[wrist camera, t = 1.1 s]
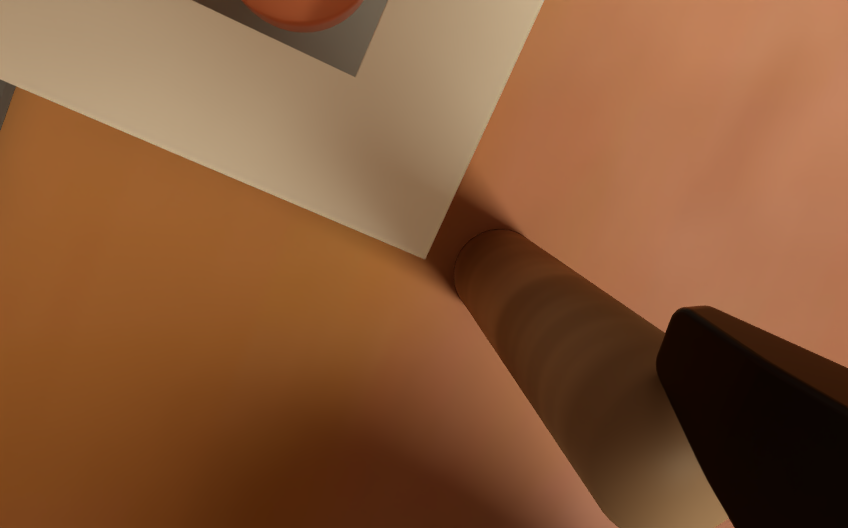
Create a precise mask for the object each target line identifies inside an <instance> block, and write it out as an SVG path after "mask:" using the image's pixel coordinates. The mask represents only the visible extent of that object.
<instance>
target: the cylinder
mask: <svg viewBox="0 0 848 528" xmlns="http://www.w3.org/2000/svg"><path fill="white" fill-rule="evenodd" d="M454 284H455V288H456V291H457V293H458V295H459V297H460V298H461V300H462V301H463V303H464V304H465V306H466V307H467V309H468V310H469V312H470V313H471V315H472V316H473V318H474V319H475V321H476V322H477V324H478V325H479V327H480V328H481V330H482V331H483V333H484V334H485V336H486V337H487V339H488V340H489V342H490V343H491V345H492V346H493V348H494V349H495V351H496V352H497V354H498V355H499V357H500V358H501V360H502V361H503V363H504V364H505V366H506V367H507V369H508V370H509V372H510V373H511V375H512V376H513V378H514V379H515V381H516V382H517V384H518V385H519V387H520V388H521V390H522V391H523V393H524V394H525V396H526V397H527V399H528V400H529V402H530V403H531V405H532V406H533V408H534V409H535V411H536V412H537V414H538V415H539V417H540V418H541V420H542V421H543V423H544V424H545V426H546V427H547V429H548V430H549V432H550V433H551V435H552V436H553V438H554V439H555V441H556V442H557V444H558V445H559V447H560V448H561V450H562V451H563V453H564V454H565V456H566V457H567V459H568V460H569V462H570V463H571V465H572V466H573V468H574V469H575V471H576V472H577V474H578V475H579V477H580V478H581V480H582V481H583V483H584V484H585V486H586V487H587V489H588V490H589V492H590V493H591V495H592V496H593V498H594V499H595V501H596V502H597V504H598V505H599V507H600V508H601V510H602V511H603V513H604V514H605V515H606V516H607V517H608V518H609V520H611V521H612V522H613V523H614V524H615V525H616V526H618V527H619V528H715V527H716V526H718V525H720V524H721V523H723V522H724V521H726V520H727V519H728V518H729V517H728V516H727V514H726V512H725V511H724V509H723V507H722V506H721V504H720V502H719V500H718V499H717V497H716V495H715V494H714V492H713V490H712V488H711V486H710V485H709V483H708V481H707V479H706V477H705V475H704V473H703V471H702V469H701V467H700V465H699V463H698V461H697V459H696V457H695V455H694V453H693V451H692V448H691V446H690V444H689V442H688V440H687V438H686V436H685V433H684V431H683V429H682V427H681V425H680V423H679V421H678V419H677V416H676V414H675V412H674V410H673V408H672V406H671V404H670V402H669V399H668V397H667V395H666V393H665V391H664V389H663V387H662V384H661V382H660V380H659V378H658V375H657V371H656V357H657V354H658V351H659V349H660V346H661V343H662V341H663V338H664V335H665V333H664V332H663V331H661V330H660V329H658V328H657V327H655V326H654V325H652V324H651V323H650V322H648V321H647V320H645V319H644V318H642V317H641V316H639V315H638V314H636V313H635V312H633V311H632V310H631V309H629V308H628V307H626V306H625V305H623V304H622V303H620V302H619V301H617V300H616V299H614V298H613V297H612V296H610V295H609V294H607V293H606V292H604V291H603V290H601V289H600V288H598V287H597V286H595V285H594V284H593V283H591V282H590V281H588V280H587V279H585V278H584V277H582V276H581V275H579V274H578V273H577V272H575V271H574V270H572V269H571V268H569V267H568V266H566V265H565V264H563V263H562V262H560V261H559V260H558V259H556V258H555V257H553V256H552V255H550V254H549V253H547V252H546V251H544V250H543V249H541V248H540V247H539V246H537V245H536V244H534V243H533V242H531V241H530V240H528V239H527V238H525V237H524V236H522V235H521V234H519V233H516V232H514V231H510V230H504V229H496V230H490V231H486V232H483V233H481V234H479V235H477V236H476V237H474V238H473V239H471V240H470V241H469V242H468V243H467V244H466V245H465V246H464V247H463V249H462V250H461V252H460V254H459V255H458V257H457V260H456V263H455V267H454Z"/></svg>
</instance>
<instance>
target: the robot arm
mask: <svg viewBox="0 0 848 528" xmlns="http://www.w3.org/2000/svg"><path fill="white" fill-rule="evenodd" d="M656 371H657V375H658V378H659V380H660V382H661V384H662V387H663V389H664V391H665V393H666V395H667V397H668V399H669V402H670V404H671V406H672V408H673V410H674V412H675V414H676V416H677V419H678V421H679V423H680V425H681V427H682V429H683V431H684V433H685V436H686V438H687V440H688V442H689V444H690V446H691V448H692V451H693V453H694V455H695V457H696V459H697V461H698V463H699V465H700V467H701V469H702V471H703V473H704V475H705V477H706V479H707V481H708V483H709V485H710V486H711V488H712V490H713V492H714V494H715V495H716V497H717V499H718V500H719V502H720V504H721V506H722V507H723V509H724V511H725V512H726V514H727V516H728V517H729V519H730V521H731V522H732V524H733V526H734V528H848V368H846V367H844V366H842V365H840V364H838V363H835V362H833V361H831V360H829V359H826V358H824V357H822V356H820V355H818V354H815V353H813V352H811V351H809V350H806V349H804V348H802V347H800V346H798V345H795V344H793V343H791V342H789V341H786V340H784V339H782V338H780V337H778V336H775V335H773V334H771V333H769V332H767V331H764V330H762V329H760V328H758V327H755V326H753V325H751V324H749V323H747V322H744V321H742V320H740V319H738V318H735V317H733V316H731V315H729V314H727V313H724V312H722V311H720V310H718V309H716V308H713V307H710V306H693V307H683V308H680V309H678V310H677V311H676V312H675V313H674V314H673V315H672V317H671V320H670V322H669V325H668V328H667V330H666V333H665V335H664V338H663V341H662V343H661V346H660V349H659V351H658V354H657V357H656Z"/></svg>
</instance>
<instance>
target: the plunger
mask: <svg viewBox="0 0 848 528" xmlns="http://www.w3.org/2000/svg"><path fill="white" fill-rule="evenodd" d="M363 1H364V0H242V2H243V3H244V4H245V5H246V6H247V7H248V8H249V9H250V10H251V11H252V12H253V13H254V14H255V15H257V16H258V17H259V18H261V19H262V20H264V21H265V22H267V23H269V24H271V25H273V26H275V27H278V28H280V29H284V30H288V31H292V32H300V33H306V32H317V31H322V30H325V29H328V28H331V27H333V26H335V25H338V24H339V23H341V22H342V21H344V20H346V19H347V18H348V17H349V16H351V15H352V14H353V13H354V12H355V11H356V10H357V9H358V7H359V6H360V5H361V4H362V2H363Z"/></svg>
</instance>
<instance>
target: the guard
mask: <svg viewBox="0 0 848 528" xmlns="http://www.w3.org/2000/svg"><path fill="white" fill-rule="evenodd" d="M543 2H544V0H364V1H363V2H362V4H361V5H360V6H359V7H358V9H357V10H356V11H355V12H354V13H353V14H352V15H351V16H349V17H348V18H347V19H346V20H344V21H342V22H341V23H339V24H338V25H335V26H333V27H331V28H328V29H325V30H322V31H317V32H306V33H300V32H292V31H288V30H284V29H280V28H278V27H275V26H273V25H271V24H269V23H267V22H265V21H264V20H262V19H261V18H259V17H258V16H257V15H255V14H254V13H253V12H252V11H251V10H250V9H249V8H248V7H247V6H246V5H245V4H244V3H243V2H242V0H0V80H3V81H5V82H8V83H10V84H12V85H15V86H17V87H19V88H22V89H24V90H26V91H29V92H31V93H33V94H36V95H38V96H41V97H43V98H45V99H48V100H50V101H52V102H55V103H57V104H59V105H62V106H64V107H67V108H69V109H71V110H74V111H76V112H78V113H81V114H83V115H85V116H88V117H90V118H92V119H95V120H97V121H100V122H102V123H104V124H107V125H109V126H111V127H114V128H116V129H118V130H121V131H123V132H125V133H128V134H130V135H133V136H135V137H137V138H140V139H142V140H144V141H147V142H149V143H151V144H154V145H156V146H158V147H161V148H163V149H166V150H168V151H170V152H173V153H175V154H177V155H180V156H182V157H184V158H187V159H189V160H191V161H194V162H196V163H199V164H201V165H203V166H206V167H208V168H210V169H213V170H215V171H217V172H220V173H222V174H224V175H227V176H229V177H232V178H234V179H236V180H239V181H241V182H243V183H246V184H248V185H250V186H253V187H255V188H258V189H260V190H262V191H265V192H267V193H269V194H272V195H274V196H276V197H279V198H281V199H283V200H286V201H288V202H291V203H293V204H295V205H298V206H300V207H302V208H305V209H307V210H309V211H312V212H314V213H316V214H319V215H321V216H324V217H326V218H328V219H331V220H333V221H335V222H338V223H340V224H342V225H345V226H347V227H349V228H352V229H354V230H357V231H359V232H361V233H364V234H366V235H368V236H371V237H373V238H375V239H378V240H380V241H382V242H385V243H387V244H390V245H392V246H394V247H397V248H399V249H401V250H404V251H406V252H408V253H411V254H413V255H415V256H418V257H420V258H423V259H426V256H427V254H428V252H429V250H430V248H431V245H432V243H433V241H434V239H435V237H436V235H437V232H438V230H439V228H440V226H441V224H442V222H443V219H444V217H445V215H446V213H447V211H448V209H449V206H450V204H451V202H452V200H453V198H454V195H455V193H456V191H457V189H458V187H459V185H460V182H461V180H462V178H463V176H464V174H465V172H466V169H467V167H468V165H469V163H470V161H471V158H472V156H473V154H474V152H475V150H476V148H477V145H478V143H479V141H480V139H481V137H482V135H483V132H484V130H485V128H486V126H487V124H488V121H489V119H490V117H491V115H492V113H493V111H494V108H495V106H496V104H497V102H498V100H499V98H500V95H501V93H502V91H503V89H504V87H505V84H506V82H507V80H508V78H509V76H510V74H511V71H512V69H513V67H514V65H515V63H516V61H517V58H518V56H519V54H520V52H521V50H522V48H523V45H524V43H525V41H526V39H527V37H528V34H529V32H530V30H531V28H532V26H533V24H534V21H535V19H536V17H537V15H538V13H539V11H540V8H541V6H542V4H543Z"/></svg>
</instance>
